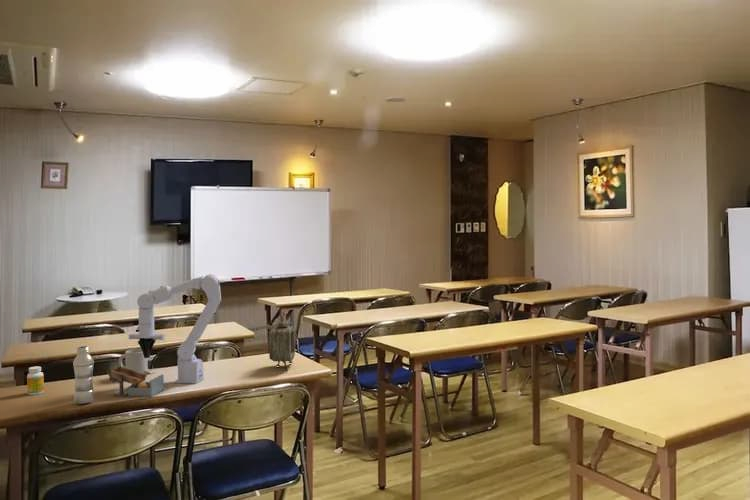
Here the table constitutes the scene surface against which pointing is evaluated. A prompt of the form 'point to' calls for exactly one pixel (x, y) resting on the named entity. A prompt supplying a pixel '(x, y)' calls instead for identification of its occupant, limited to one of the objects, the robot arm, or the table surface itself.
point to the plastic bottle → (83, 376)
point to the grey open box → (148, 388)
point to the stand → (122, 391)
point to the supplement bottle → (35, 381)
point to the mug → (134, 360)
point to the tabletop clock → (282, 342)
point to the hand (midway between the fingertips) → (147, 357)
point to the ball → (142, 385)
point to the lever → (128, 375)
